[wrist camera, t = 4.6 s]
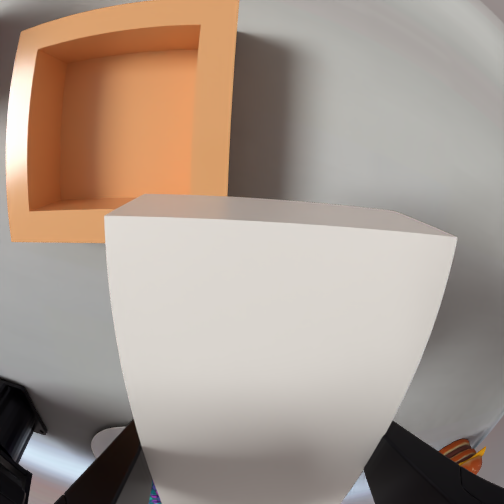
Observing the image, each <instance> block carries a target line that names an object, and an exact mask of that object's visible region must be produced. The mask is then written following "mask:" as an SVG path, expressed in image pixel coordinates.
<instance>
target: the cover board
mask: <svg viewBox="0 0 504 504" xmlns="http://www.w3.org/2000/svg"><path fill="white" fill-rule="evenodd" d="M104 226H105V245H106V259H107V271H108V281H109V291H110V299H111V307H112V314H113V321H114V328H115V334H116V340H117V346H118V351H119V357H120V362H121V367H122V372H123V377H124V381H125V386H126V390H127V394H128V398H129V403H130V407H131V410H132V414H133V418H134V422H135V425H136V429H137V432H138V436H139V439H140V443H141V446H142V449H143V452H144V455H145V458H146V461H147V464H148V467H149V470H150V473H151V476H152V479H153V482H154V484H155V487H156V490H157V492H158V495H159V497H160V500H161V502H162V504H340V503H341V502H342V501H343V499H344V498H345V496H346V495H347V494H348V492H349V491H350V489H351V488H352V487H353V485H354V484H355V482H356V481H357V479H358V478H359V476H360V475H361V473H362V472H363V470H364V467H365V465H366V464H367V462H368V460H369V459H370V457H371V455H372V454H373V452H374V450H375V449H376V447H377V445H378V444H379V442H380V440H381V438H382V437H383V435H385V433H386V432H387V430H388V428H389V426H390V424H391V422H392V420H393V419H394V417H395V415H396V413H397V411H398V409H399V407H400V405H401V403H402V401H403V399H404V397H405V394H406V392H407V390H408V388H409V386H410V384H411V381H412V379H413V377H414V375H415V372H416V370H417V368H418V365H419V363H420V360H421V358H422V355H423V353H424V350H425V348H426V345H427V342H428V340H429V337H430V334H431V331H432V329H433V326H434V323H435V320H436V317H437V314H438V311H439V308H440V305H441V301H442V298H443V295H444V291H445V288H446V284H447V281H448V277H449V273H450V269H451V265H452V261H453V257H454V253H455V248H456V244H457V239H458V237H456V236H454V235H451V234H449V233H447V232H445V231H442V230H440V229H438V228H435V227H433V226H431V225H428V224H426V223H423V222H421V221H418V220H416V219H414V218H411V217H409V216H406V215H404V214H401V213H398V212H396V211H391V210H383V209H374V208H365V207H356V206H346V205H336V204H326V203H315V202H303V201H290V200H277V199H262V198H246V197H228V196H206V195H178V194H143V195H141V196H139V197H137V198H136V199H134V200H132V201H130V202H128V203H126V204H124V205H122V206H121V207H119V208H117V209H115V210H113V211H112V212H110V213H108V214H106V215H105V216H104Z"/></svg>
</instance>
